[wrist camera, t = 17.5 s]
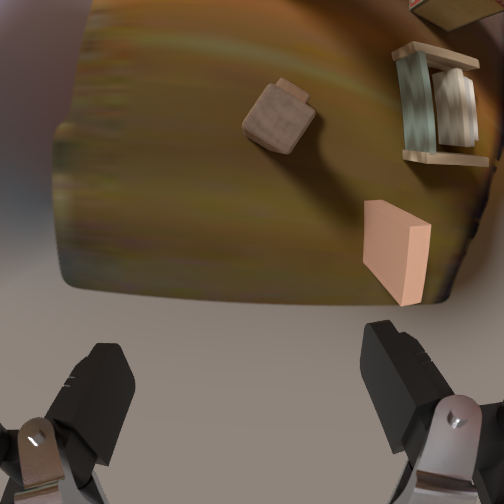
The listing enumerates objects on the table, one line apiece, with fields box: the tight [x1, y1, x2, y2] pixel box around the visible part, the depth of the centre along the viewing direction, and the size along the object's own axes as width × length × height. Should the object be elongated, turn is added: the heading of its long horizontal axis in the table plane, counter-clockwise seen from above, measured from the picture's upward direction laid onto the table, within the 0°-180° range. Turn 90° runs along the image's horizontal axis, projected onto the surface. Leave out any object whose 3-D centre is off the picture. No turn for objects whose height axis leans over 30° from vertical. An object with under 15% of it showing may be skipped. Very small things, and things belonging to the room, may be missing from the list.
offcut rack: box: [391, 41, 489, 167], centre depth 32 cm, size 18×13×7 cm
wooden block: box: [242, 78, 316, 155], centre depth 29 cm, size 9×4×18 cm, turn 148°
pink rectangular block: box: [363, 200, 431, 306], centre depth 37 cm, size 10×3×14 cm, turn 6°
